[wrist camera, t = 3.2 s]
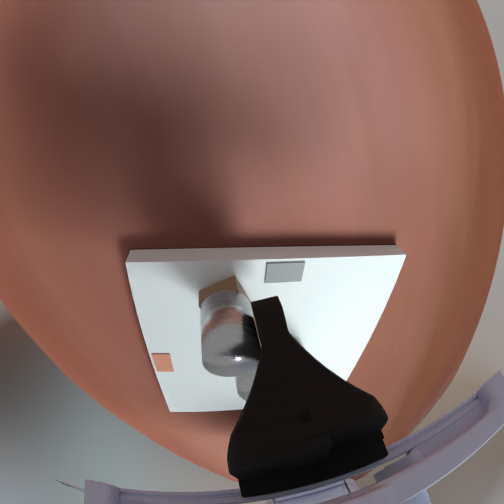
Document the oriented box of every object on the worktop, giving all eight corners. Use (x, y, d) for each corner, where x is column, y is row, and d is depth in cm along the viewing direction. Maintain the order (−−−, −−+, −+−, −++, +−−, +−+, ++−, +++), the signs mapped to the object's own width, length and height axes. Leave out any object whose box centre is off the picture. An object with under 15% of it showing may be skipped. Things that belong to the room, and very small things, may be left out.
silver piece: (312, 364, 19) (330, 412, 15) (250, 387, 19) (260, 435, 15) (260, 256, 13) (282, 319, 9) (168, 296, 13) (162, 363, 10)
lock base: (334, 384, 24) (338, 394, 23) (170, 400, 21) (170, 412, 20) (396, 245, 16) (407, 255, 15) (130, 249, 13) (124, 263, 12)
